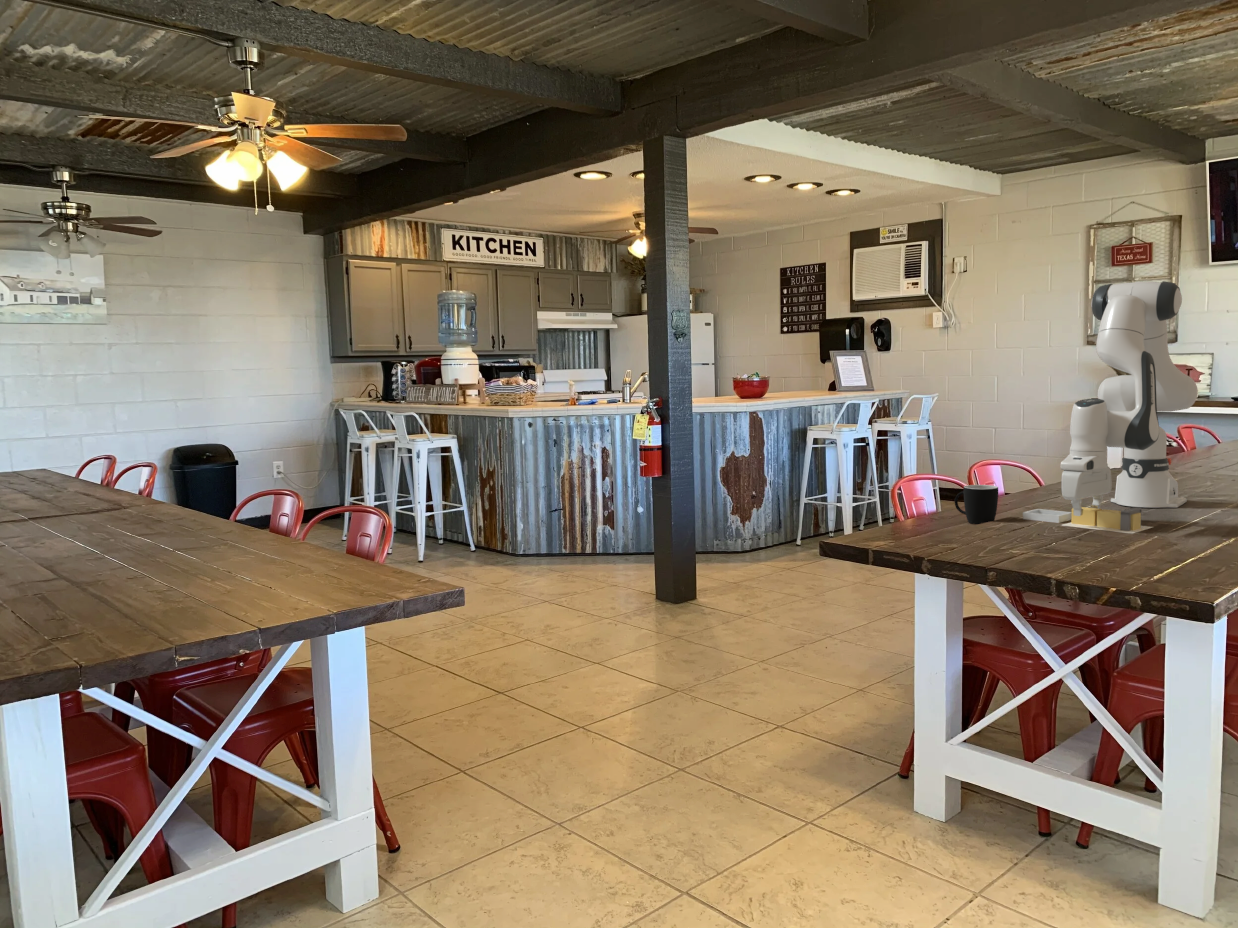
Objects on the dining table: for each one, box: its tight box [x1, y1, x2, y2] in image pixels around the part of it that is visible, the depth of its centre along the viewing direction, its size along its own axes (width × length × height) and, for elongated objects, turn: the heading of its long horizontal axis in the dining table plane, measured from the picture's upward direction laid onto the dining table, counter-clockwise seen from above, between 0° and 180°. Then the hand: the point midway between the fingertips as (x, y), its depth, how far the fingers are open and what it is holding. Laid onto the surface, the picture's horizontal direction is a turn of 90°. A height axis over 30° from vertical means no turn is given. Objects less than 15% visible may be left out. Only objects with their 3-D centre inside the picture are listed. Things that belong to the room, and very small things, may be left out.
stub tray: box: [1022, 508, 1072, 524], centre depth 251 cm, size 8×10×3 cm
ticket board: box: [1061, 506, 1154, 534], centre depth 237 cm, size 12×18×6 cm, turn 38°
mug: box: [954, 484, 999, 525], centre depth 256 cm, size 12×9×10 cm
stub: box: [1070, 506, 1103, 526], centre depth 241 cm, size 4×6×4 cm, turn 38°
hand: (1086, 513), depth 241 cm, fingers open, 8 cm apart
